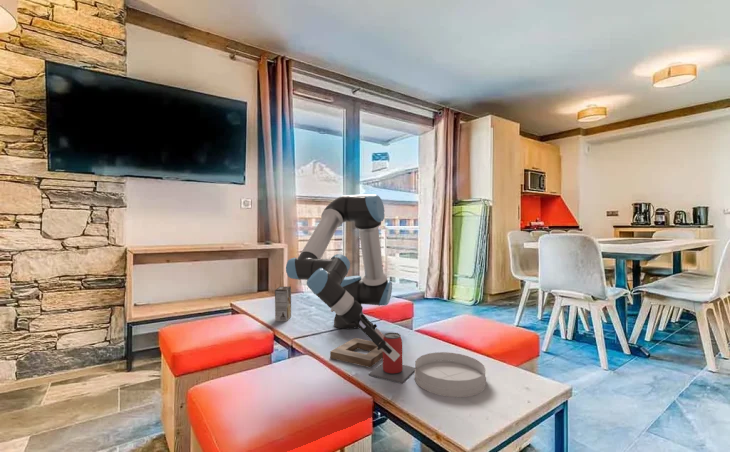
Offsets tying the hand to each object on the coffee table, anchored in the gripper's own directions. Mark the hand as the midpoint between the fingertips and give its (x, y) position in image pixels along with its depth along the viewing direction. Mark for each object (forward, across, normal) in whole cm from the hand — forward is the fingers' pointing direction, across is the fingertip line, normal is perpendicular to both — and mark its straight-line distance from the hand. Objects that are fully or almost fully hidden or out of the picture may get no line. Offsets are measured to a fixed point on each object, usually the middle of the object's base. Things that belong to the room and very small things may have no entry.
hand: (391, 350), depth 118 cm
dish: (+18, +8, +6) cm, 20 cm away
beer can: (+5, 0, -5) cm, 7 cm away
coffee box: (-22, -72, -33) cm, 83 cm away
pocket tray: (0, -17, -10) cm, 20 cm away
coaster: (+6, 0, -5) cm, 7 cm away
